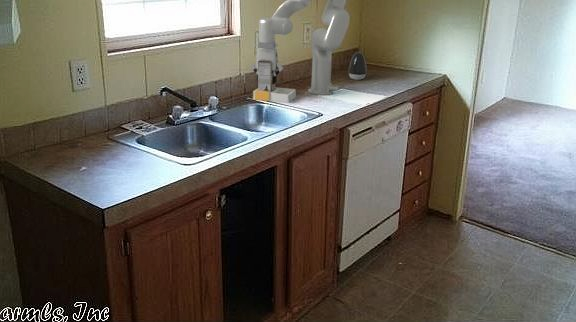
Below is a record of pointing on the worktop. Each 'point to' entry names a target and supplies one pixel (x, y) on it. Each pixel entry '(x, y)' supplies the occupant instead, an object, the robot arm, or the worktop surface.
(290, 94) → the rack
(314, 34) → the robot arm
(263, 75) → the coffee box
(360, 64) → the black rounded egg shape
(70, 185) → the worktop surface
